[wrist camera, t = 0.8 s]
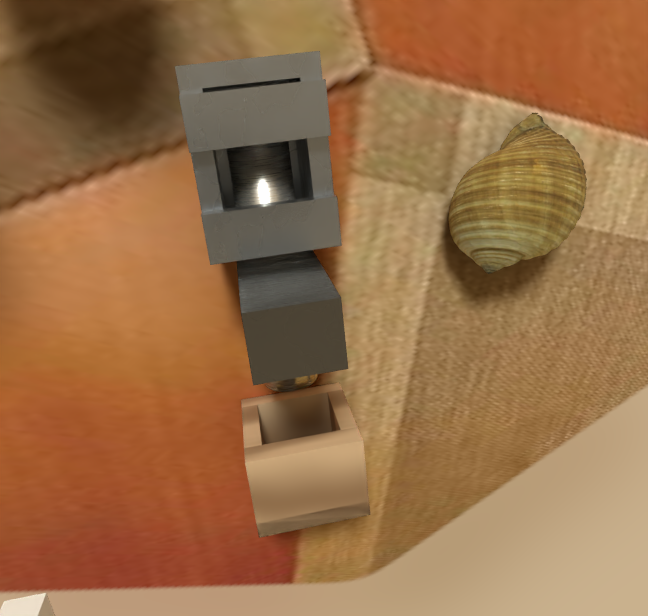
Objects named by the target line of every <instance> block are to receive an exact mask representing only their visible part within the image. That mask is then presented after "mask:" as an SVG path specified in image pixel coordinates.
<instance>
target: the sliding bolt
mask: <svg viewBox="0 0 648 616" xmlns="http://www.w3.org/2000/svg"><path fill="white" fill-rule="evenodd" d="M226 149H227V156H228V162H229V168H230V174H231V180H232V186H233V192H234V199H235V205H236V207H242V206H250V205H257V204H264V203H272V202H279V201H286V200H294V199H296V198H295V190H294V182H293V174H292V166H291V158H290V150H289V142H288V141H282V142H274V143H266V144H258V145H250V146H242V147H234V148H226ZM237 272H238V283H239V295H240V307H241V316H242V322H243V327H244V333H245V339H246V345H247V351H248V357H249V363H250V368H251V374H252V380H253V385H258V384H264V383H265V385H266V387H267V388H269V389H271V390H274V391H279V392H291V391H297V390H300V389H303V388H306V387H308V386H310V385H311V384H313V383H314V382H315V381H316V379H317V376H318V375H317V374H321V373H327V372H333V371H338V370H344V369H348V362H347V352H346V342H345V332H344V322H343V313H342V303H341V297H340V295H339V293H338V292H337V290H336V288H335V287H334V285H333V283H332V282H331V280H330V278H329V277H328V275H327V273H326V272H325V270H324V268H323V267H322V265H321V263H320V262H319V260H318V258H317V257H316V255H315V253H314V252H313V250H308V251H301V252H294V253H288V254H281V255H274V256H267V257H260V258H254V259H247V260H240V261H237Z"/></svg>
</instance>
